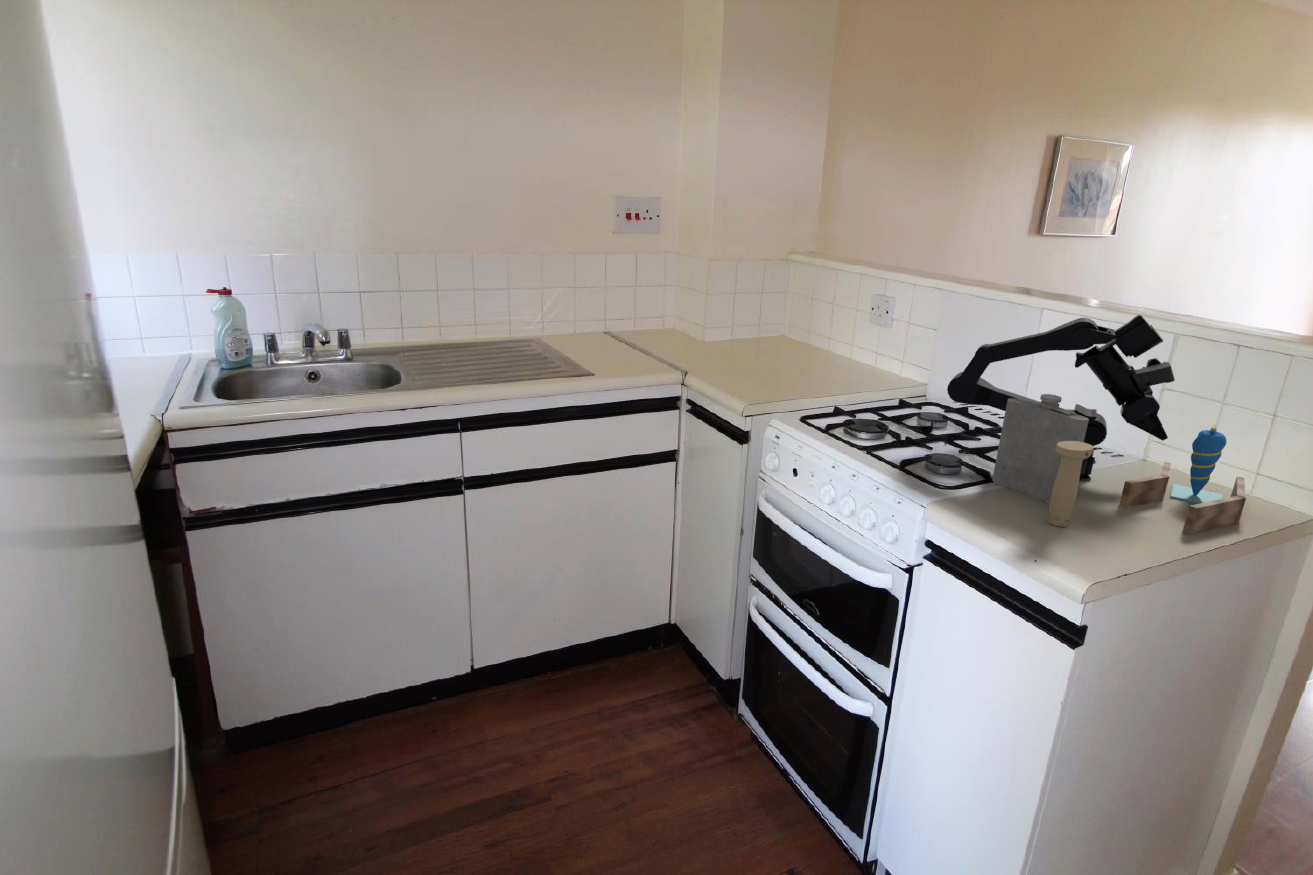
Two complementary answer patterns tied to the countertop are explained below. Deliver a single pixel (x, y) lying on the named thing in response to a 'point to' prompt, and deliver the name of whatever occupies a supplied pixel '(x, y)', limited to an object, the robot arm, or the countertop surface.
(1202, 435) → the ornament
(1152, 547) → the countertop surface
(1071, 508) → the handle
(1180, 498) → the pad
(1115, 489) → the countertop surface
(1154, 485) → the channel
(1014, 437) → the hip flask
